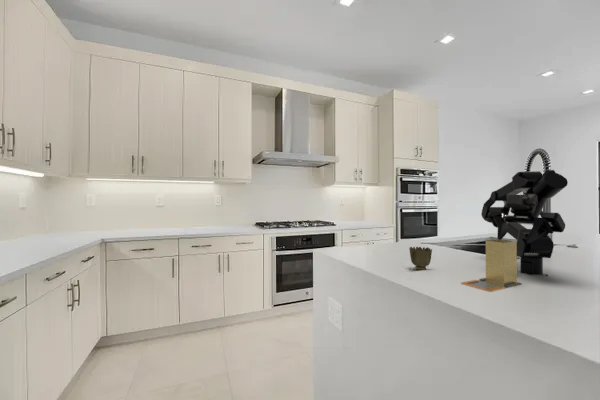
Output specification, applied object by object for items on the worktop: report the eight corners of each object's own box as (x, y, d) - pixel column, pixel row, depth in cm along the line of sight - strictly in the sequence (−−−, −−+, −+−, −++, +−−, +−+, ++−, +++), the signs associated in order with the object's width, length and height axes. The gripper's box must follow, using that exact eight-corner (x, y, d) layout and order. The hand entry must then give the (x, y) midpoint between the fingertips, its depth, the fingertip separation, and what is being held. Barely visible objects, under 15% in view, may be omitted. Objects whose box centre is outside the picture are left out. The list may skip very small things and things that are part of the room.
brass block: (498, 278, 85) (498, 239, 85) (516, 283, 80) (516, 241, 80) (485, 281, 82) (485, 240, 82) (504, 285, 78) (503, 242, 78)
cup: (434, 273, 95) (434, 250, 95) (411, 272, 97) (411, 249, 97) (429, 268, 103) (428, 246, 103) (407, 267, 104) (407, 246, 104)
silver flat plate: (492, 280, 87) (492, 276, 87) (522, 287, 79) (522, 283, 79) (460, 287, 80) (460, 282, 80) (489, 295, 73) (489, 290, 73)
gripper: (490, 187, 95) (469, 220, 90) (559, 184, 78) (538, 225, 74) (504, 210, 98) (485, 243, 94) (574, 211, 81) (554, 252, 77)
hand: (512, 240), depth 84 cm, fingers open, 7 cm apart
